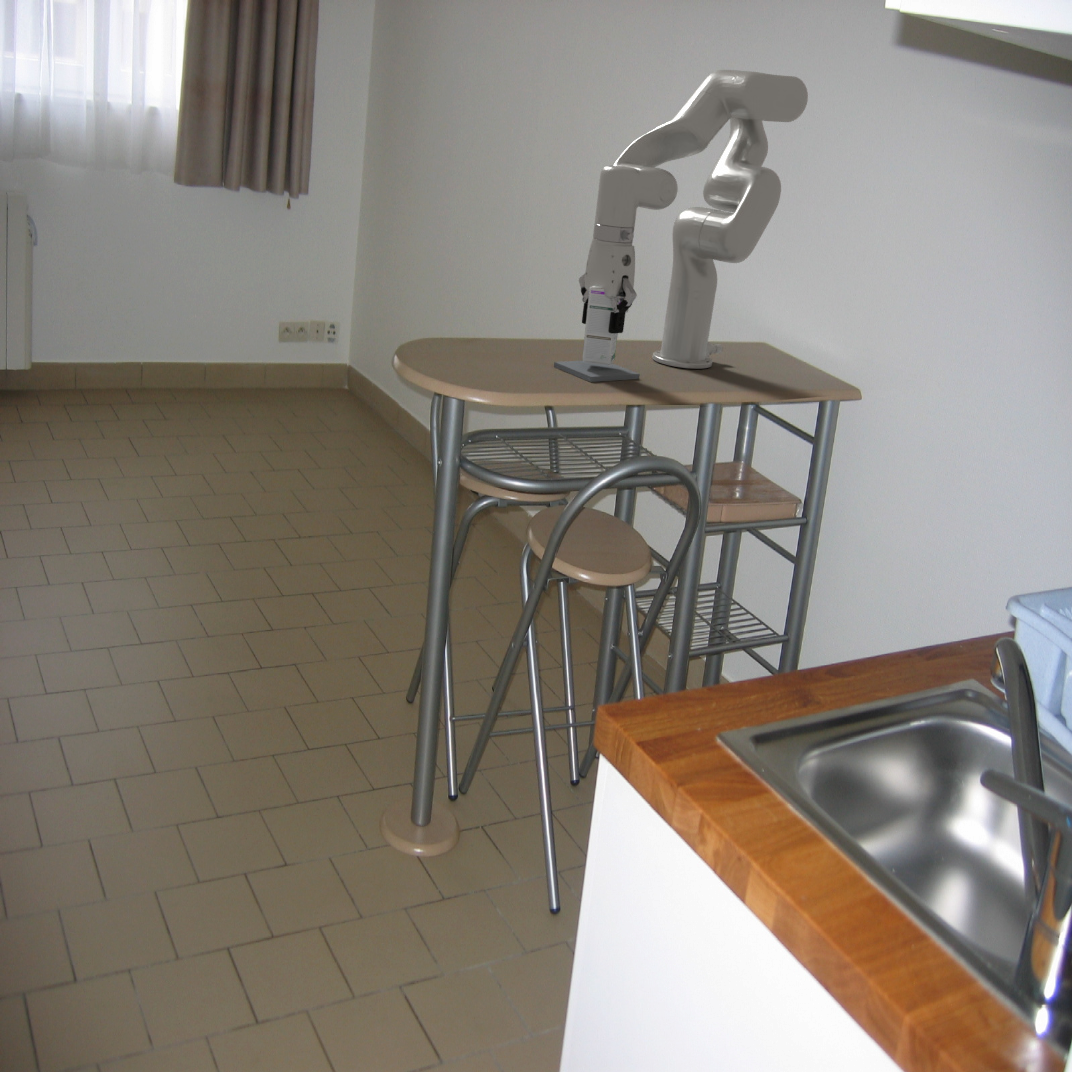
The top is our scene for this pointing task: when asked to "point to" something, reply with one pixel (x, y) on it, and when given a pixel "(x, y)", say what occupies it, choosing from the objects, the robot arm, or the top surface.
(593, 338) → the syrup box
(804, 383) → the top surface
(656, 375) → the top surface
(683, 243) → the robot arm
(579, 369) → the grey square plate
